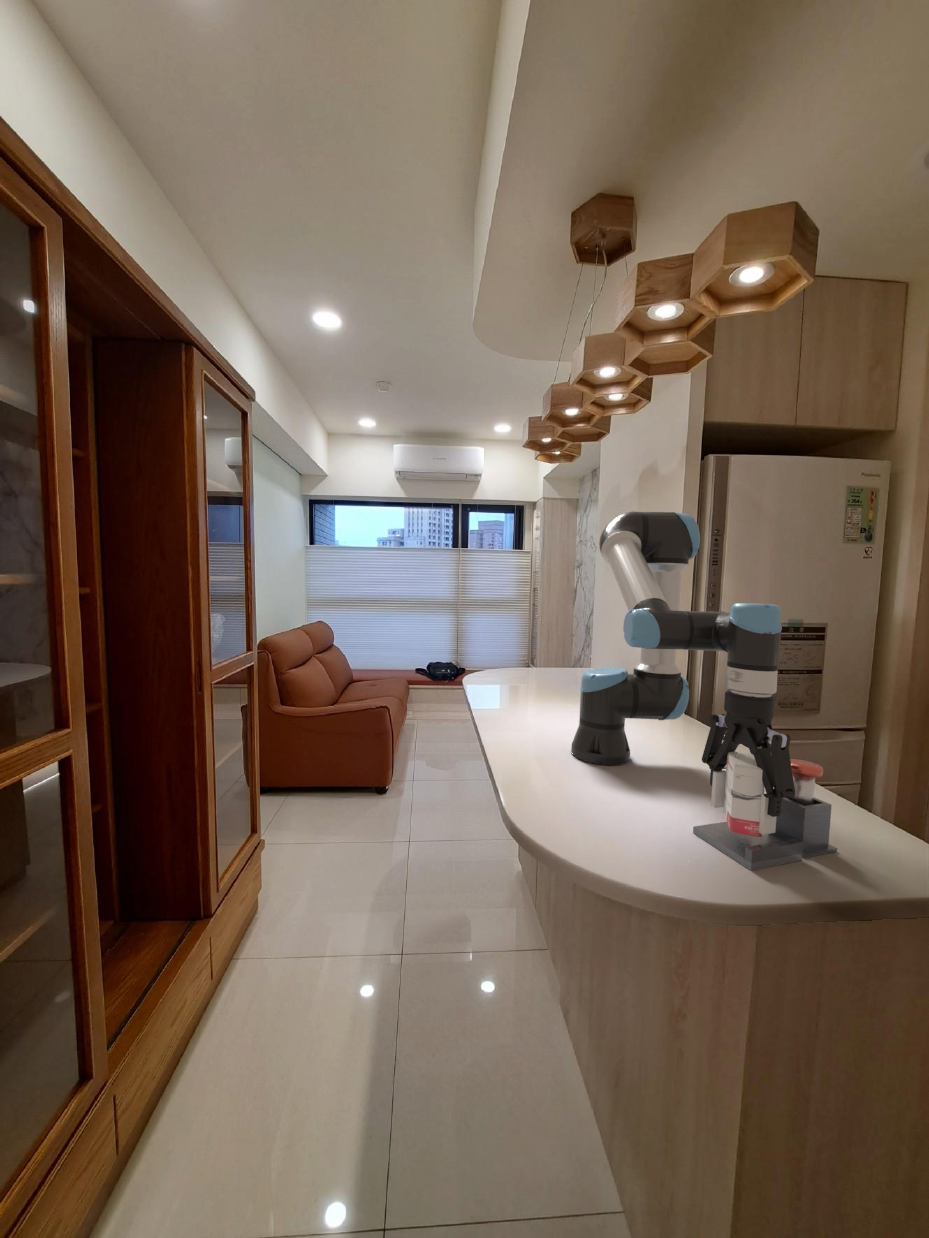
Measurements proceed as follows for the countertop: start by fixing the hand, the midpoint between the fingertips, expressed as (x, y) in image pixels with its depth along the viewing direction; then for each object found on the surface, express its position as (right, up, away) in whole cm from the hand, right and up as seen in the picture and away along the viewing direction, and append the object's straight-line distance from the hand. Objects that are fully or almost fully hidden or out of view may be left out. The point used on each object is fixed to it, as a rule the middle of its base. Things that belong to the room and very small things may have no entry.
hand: (741, 818), depth 83 cm
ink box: (0, -1, 0) cm, 1 cm away
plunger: (+11, 0, +1) cm, 11 cm away
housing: (+11, -5, +1) cm, 12 cm away
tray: (0, -5, -1) cm, 5 cm away
